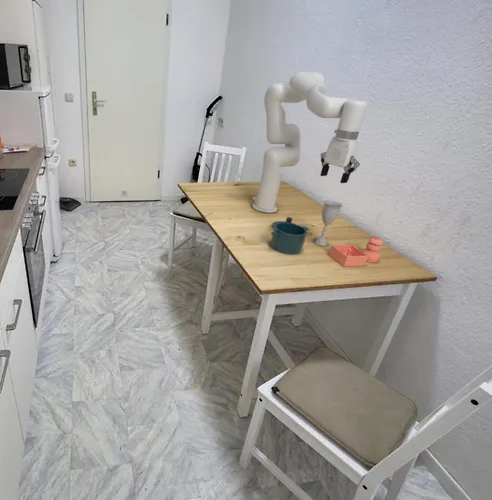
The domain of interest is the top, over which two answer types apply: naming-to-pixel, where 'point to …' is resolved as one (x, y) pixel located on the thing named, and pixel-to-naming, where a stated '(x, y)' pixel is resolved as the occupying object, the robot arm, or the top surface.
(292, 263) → the top surface
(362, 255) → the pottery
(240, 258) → the top surface
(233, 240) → the top surface
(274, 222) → the lid
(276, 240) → the pot
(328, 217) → the chalice
